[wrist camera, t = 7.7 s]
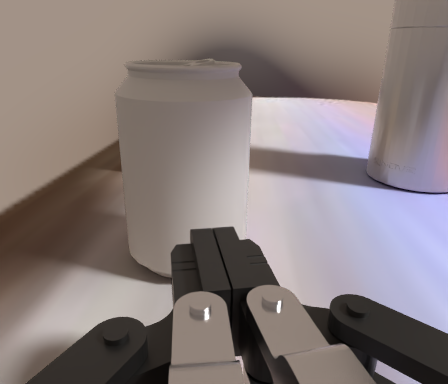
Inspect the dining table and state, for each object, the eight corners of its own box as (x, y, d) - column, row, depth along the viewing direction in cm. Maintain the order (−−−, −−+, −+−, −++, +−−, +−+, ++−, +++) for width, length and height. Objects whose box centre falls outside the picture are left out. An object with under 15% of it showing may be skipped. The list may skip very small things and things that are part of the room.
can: (117, 240, 26) (98, 56, 21) (214, 219, 29) (215, 56, 25) (149, 302, 20) (132, 63, 15) (267, 267, 23) (282, 62, 18)
